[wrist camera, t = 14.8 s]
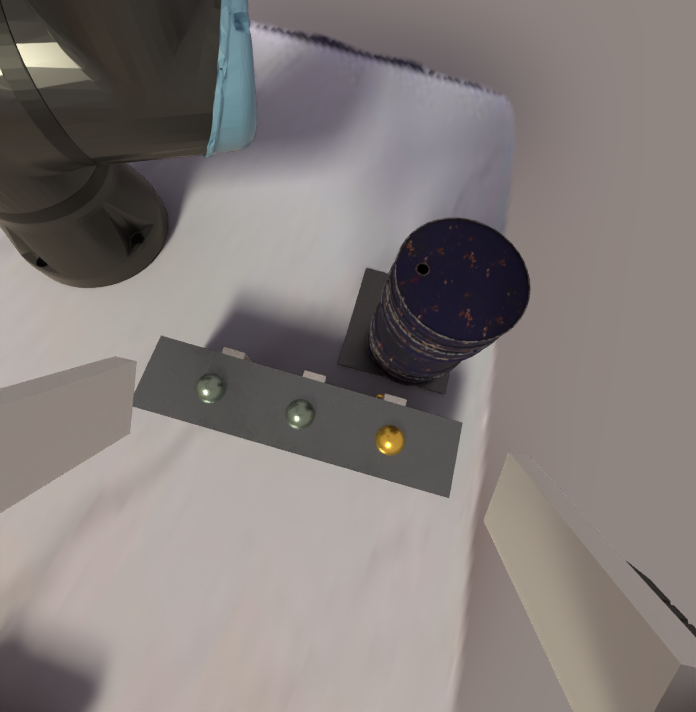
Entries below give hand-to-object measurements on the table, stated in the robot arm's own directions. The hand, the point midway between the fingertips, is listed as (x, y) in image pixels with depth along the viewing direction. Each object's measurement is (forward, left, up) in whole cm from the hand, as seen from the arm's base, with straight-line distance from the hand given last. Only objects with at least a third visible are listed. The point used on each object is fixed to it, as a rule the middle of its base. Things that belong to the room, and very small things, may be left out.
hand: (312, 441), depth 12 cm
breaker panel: (-9, +4, -24) cm, 26 cm away
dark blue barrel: (-8, +13, -24) cm, 28 cm away
